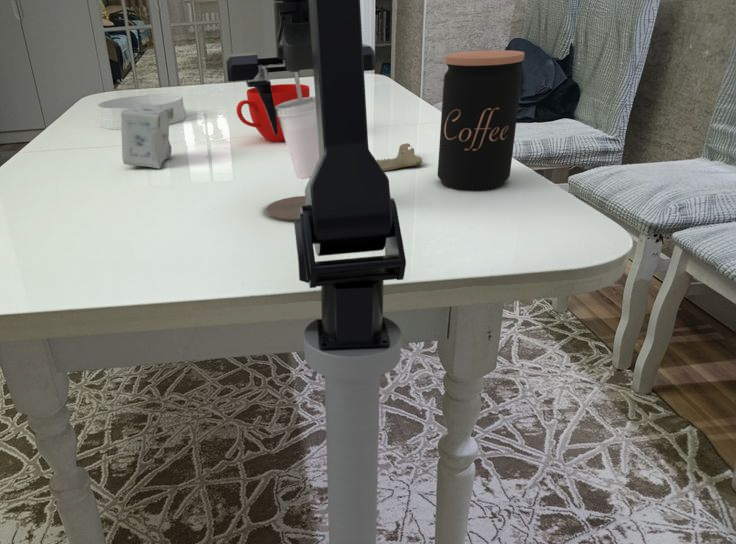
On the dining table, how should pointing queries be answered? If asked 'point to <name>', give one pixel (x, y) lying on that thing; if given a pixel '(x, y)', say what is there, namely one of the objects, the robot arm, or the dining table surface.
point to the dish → (113, 108)
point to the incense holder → (146, 135)
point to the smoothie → (300, 131)
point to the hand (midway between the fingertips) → (301, 132)
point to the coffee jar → (479, 118)
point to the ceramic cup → (259, 112)
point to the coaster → (286, 208)
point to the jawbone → (401, 159)
